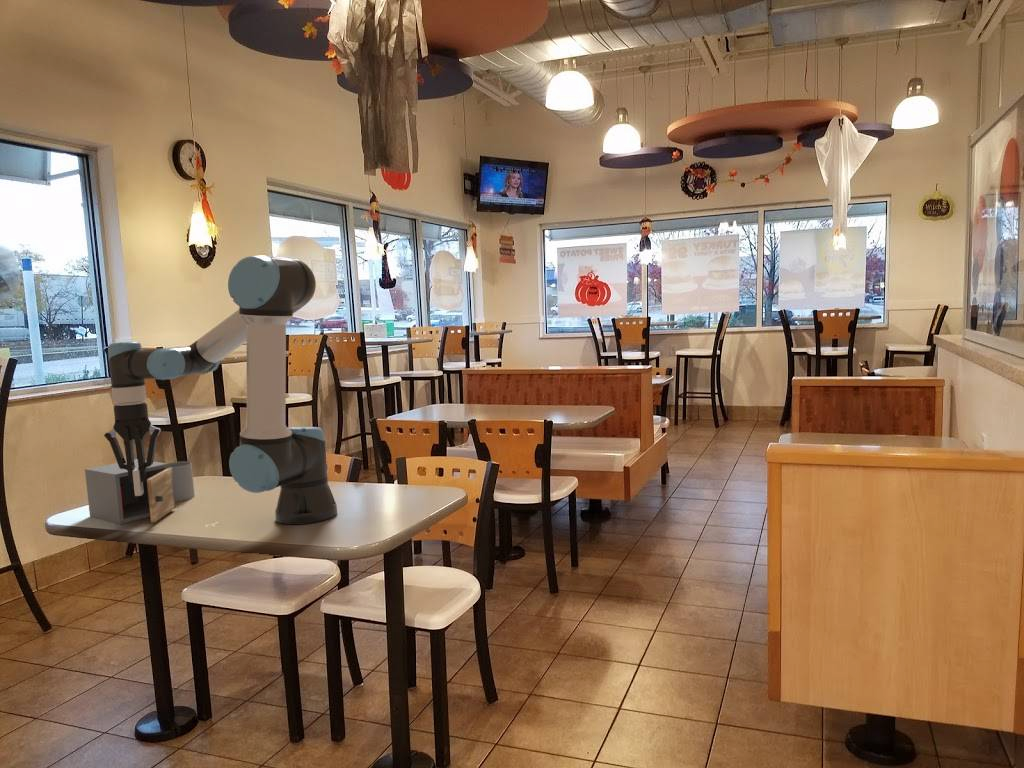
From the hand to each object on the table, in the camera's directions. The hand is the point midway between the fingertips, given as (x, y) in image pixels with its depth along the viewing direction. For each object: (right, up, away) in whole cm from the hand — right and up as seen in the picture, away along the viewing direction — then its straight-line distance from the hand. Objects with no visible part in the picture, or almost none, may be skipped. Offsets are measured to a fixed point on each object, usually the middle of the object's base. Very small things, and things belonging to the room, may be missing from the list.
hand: (139, 494), depth 187 cm
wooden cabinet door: (+5, -6, +5) cm, 9 cm away
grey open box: (-8, -7, +11) cm, 15 cm away
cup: (-2, -5, +26) cm, 27 cm away
